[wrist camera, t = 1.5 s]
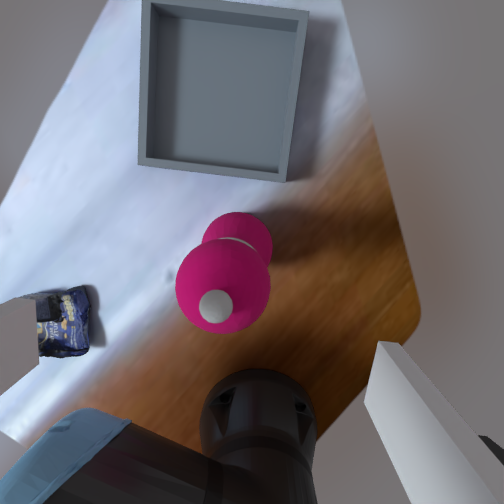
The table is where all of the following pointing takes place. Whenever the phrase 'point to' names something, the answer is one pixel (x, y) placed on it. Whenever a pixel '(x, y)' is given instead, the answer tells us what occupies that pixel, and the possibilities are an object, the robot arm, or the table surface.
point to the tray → (219, 86)
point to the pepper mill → (227, 275)
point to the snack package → (62, 322)
